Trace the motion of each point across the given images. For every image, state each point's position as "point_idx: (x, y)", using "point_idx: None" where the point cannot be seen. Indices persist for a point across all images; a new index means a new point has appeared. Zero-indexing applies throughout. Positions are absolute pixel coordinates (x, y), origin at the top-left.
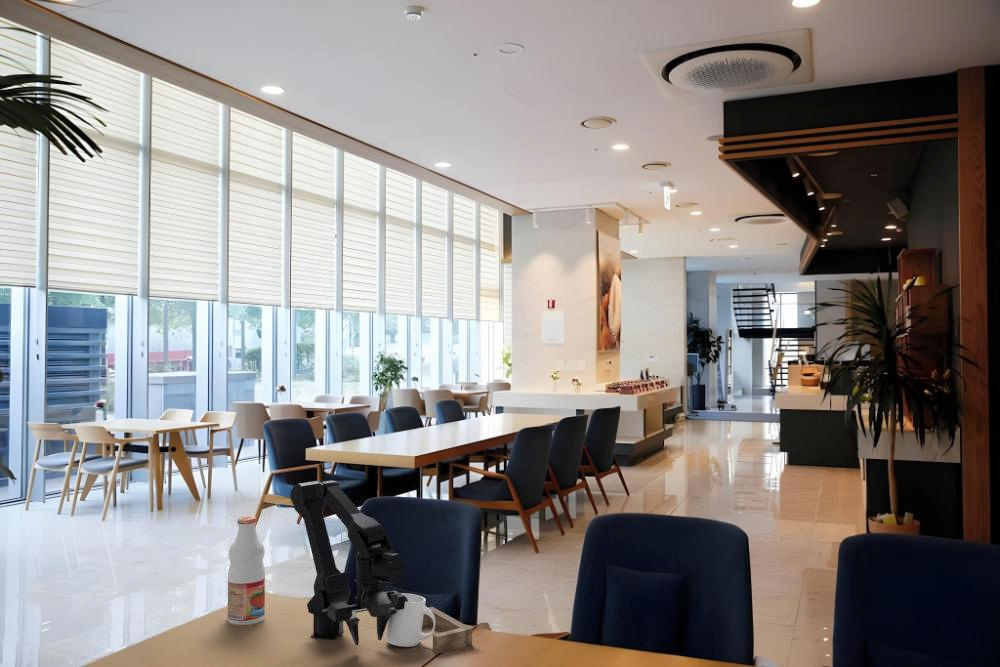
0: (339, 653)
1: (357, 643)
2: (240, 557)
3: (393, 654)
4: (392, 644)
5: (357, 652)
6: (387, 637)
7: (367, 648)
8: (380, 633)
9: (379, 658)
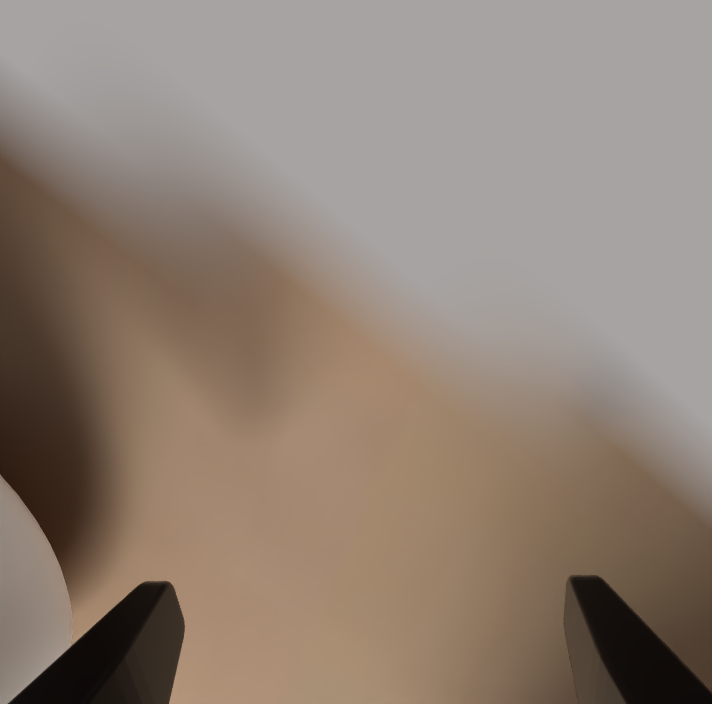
0: (688, 626)
1: (600, 598)
2: None
3: (59, 290)
4: (9, 485)
5: (486, 560)
6: (29, 621)
7: (333, 602)
8: (104, 679)
9: (290, 248)
